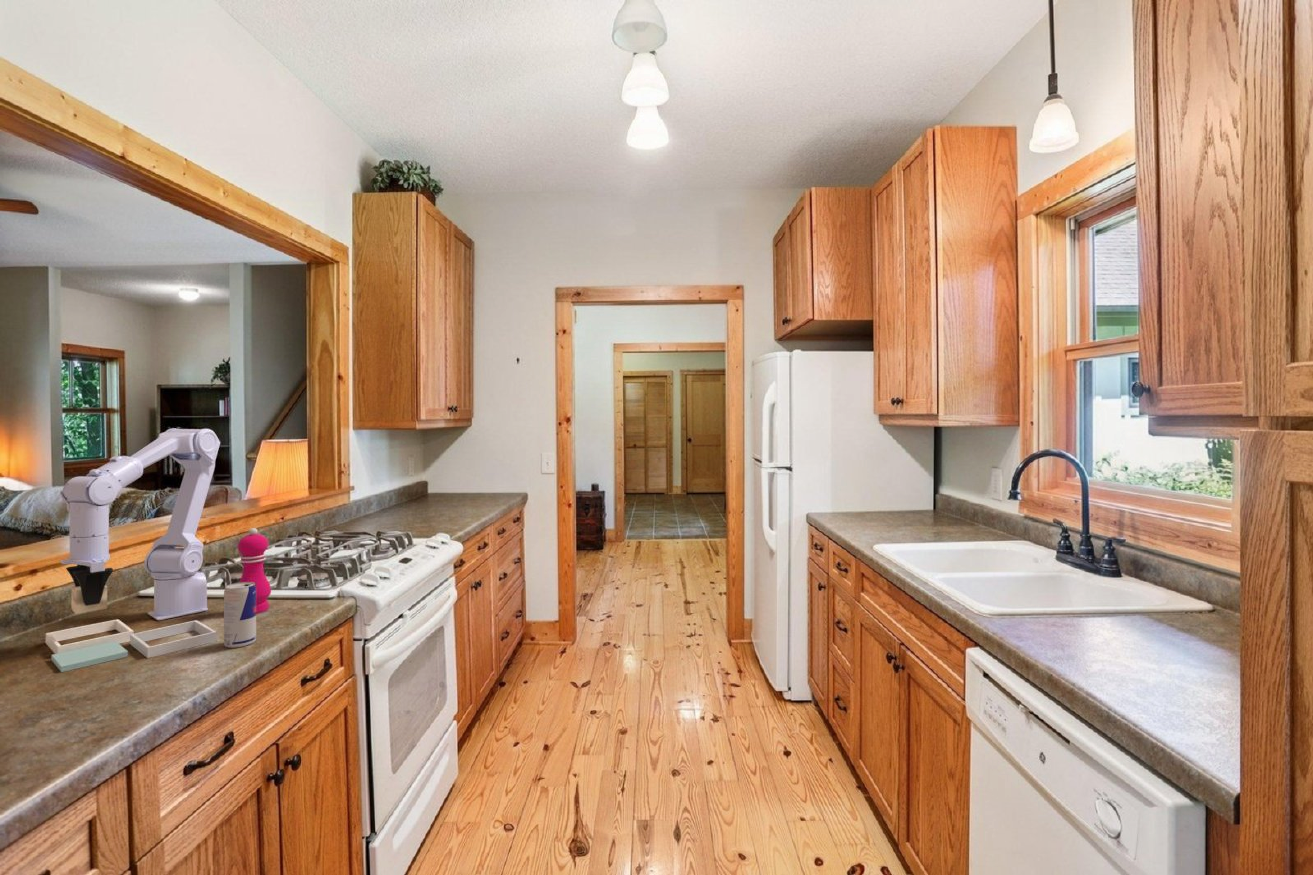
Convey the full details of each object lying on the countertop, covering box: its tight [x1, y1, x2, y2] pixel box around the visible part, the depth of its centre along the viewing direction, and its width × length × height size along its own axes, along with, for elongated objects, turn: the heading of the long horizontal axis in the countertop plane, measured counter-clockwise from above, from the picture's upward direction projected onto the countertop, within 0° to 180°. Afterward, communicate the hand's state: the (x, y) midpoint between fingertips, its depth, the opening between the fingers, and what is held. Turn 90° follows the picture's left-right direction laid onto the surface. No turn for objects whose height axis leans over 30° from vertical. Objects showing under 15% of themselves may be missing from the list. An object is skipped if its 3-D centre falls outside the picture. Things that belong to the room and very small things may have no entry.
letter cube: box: [70, 585, 108, 615], centre depth 117 cm, size 4×4×5 cm
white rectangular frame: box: [129, 619, 218, 659], centre depth 118 cm, size 11×12×2 cm
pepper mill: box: [237, 527, 272, 614], centre depth 139 cm, size 7×7×20 cm
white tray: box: [45, 619, 135, 654], centre depth 118 cm, size 11×12×2 cm
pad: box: [51, 641, 129, 673], centre depth 110 cm, size 9×9×1 cm
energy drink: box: [223, 582, 257, 649], centre depth 118 cm, size 5×5×12 cm
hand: (89, 602), depth 117 cm, fingers closed on letter cube, 4 cm apart
